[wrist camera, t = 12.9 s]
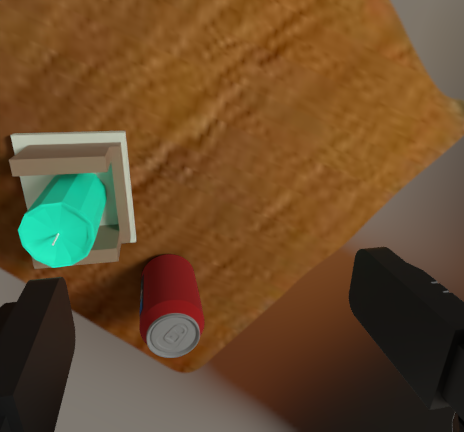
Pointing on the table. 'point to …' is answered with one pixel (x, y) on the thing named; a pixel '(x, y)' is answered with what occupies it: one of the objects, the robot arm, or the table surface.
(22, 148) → the holder
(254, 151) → the table surface
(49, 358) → the robot arm
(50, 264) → the candle
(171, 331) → the beverage can
